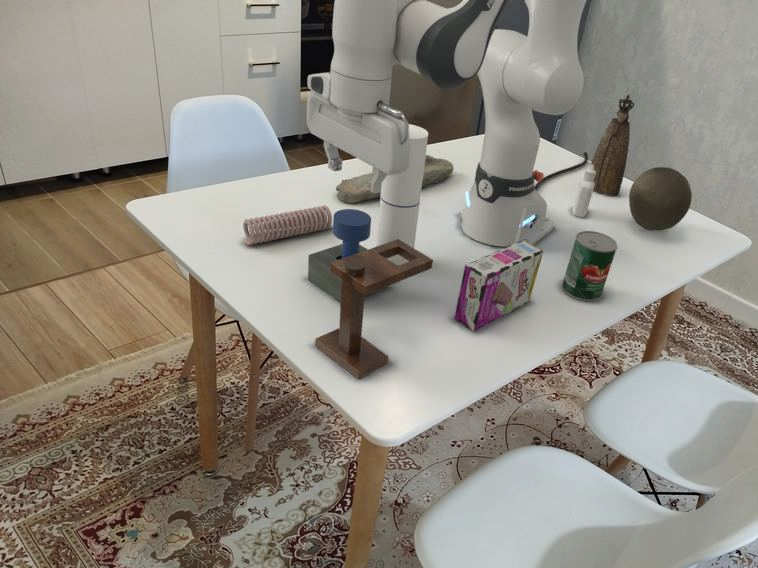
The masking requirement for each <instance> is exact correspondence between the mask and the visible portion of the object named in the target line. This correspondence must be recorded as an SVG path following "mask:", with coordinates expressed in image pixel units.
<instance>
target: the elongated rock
mask: <svg viewBox="0 0 758 568" xmlns="http://www.w3.org/2000/svg"><path fill="white" fill-rule="evenodd" d="M453 173H454V165H453V163H452V162H451V161H449V160H447V159H445V158H437V157H434V156H431V155H430V154H428V155H427V154H426V157H425V165H424V173H423V181H422V187H426V186H429V185H430V184H434V183H440V182H442V181H444V179H445V178H448V177H449V176H451V175H452V174H453ZM374 175H375V173H373V171H372V172H370V173H365V174H362V175H359V176H354V177H352V178H349V179H347V178H346V179H341V182H340V183H339V184H337V185H336V186H335V191H336V192H337V194H336V196H337V198H338V199H339V200H341V201H342V202H344V203H347V204H356V203H358V202H362V201H367V200H368V201H369V200H372V199H379V198H380V197H381V191H380V192H379V193H376V194H374V193H372V192H370V191H368V190H367V180H370V179H373V177H374Z"/></svg>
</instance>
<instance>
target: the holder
mask: <svg viewBox="0 0 758 568" xmlns="http://www.w3.org/2000/svg"><path fill="white" fill-rule="evenodd" d="M342 245H343V243H341V244H338V245H335V246H332V247H329V248H325V249H322V250H319V251H316V252H313V253H310V254H308V261H307V263H308V266H307V278H308V279H307V280H308V281H310V282H311V283H312V284H314V285H315V286H316V287H318V288H319V289H321V290H322V291H324V292H325V293H326V294H328V295H329V296H330V297H332V298H333V299H335V300H336V301H338V302H339V303H341V287H342V279H340V278H339V277H337V276H336V275H334V274H333V273H332V272H330V263H331V262H334V261H337V260H340V259H342ZM365 250H368V249H367V248H366V247H365V246H363V245H361V244H360V243H359V253H360V252H363V251H365ZM388 288H389V286H387V287H385V288H382V289H380V290H377V291H375V292H373V293H370V294H368V295H365V297H364V298H366V297H370V296H371V295H374V294H376V293H379V292H381V291H384V290H386V289H388Z"/></svg>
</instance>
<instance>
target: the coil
mask: <svg viewBox="0 0 758 568" xmlns="http://www.w3.org/2000/svg"><path fill="white" fill-rule="evenodd" d="M242 227H243V231H244V235H245V237H246V239H245V240H244V241H243V242H244V243H245V244H246V245H247V246H251V245H257V244H261V243H267V242H271V241H275V240H278V239H279V240H281V239H287V238H291V237H296V236H300V235H306V234H310V233H315V232H319V231H324V230H329V229H333V215H332V212H331V210H330V208H329V206H328V205H325V204H324V205H322V206H321V205H318V206H313V207H309V208H304V209H299V210H291V211H286V212H280V213H275V214H270V215H265V216H260V217H257V216H256V217H254V218H252V217H251V218H249V219H248V218H246V219H244V220H243V224H242Z"/></svg>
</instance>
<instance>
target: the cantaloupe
mask: <svg viewBox="0 0 758 568" xmlns="http://www.w3.org/2000/svg"><path fill="white" fill-rule="evenodd" d="M692 195H693V193H692V189H691V185H690V182H689V180H688V179H687V178H686V177H685V176H684V175H683V174H682V173H681V172H680V171H678V170H676V169H674V168H672V167H666V166H658V167H656V166H655V167H652V168H649V169H647V170H646V171H643V172H642V173H640V175H639V176H638V177H637V178H636V179H635V180H634V182H633V183H632V184H631V187H630V189H629V194H628V203H629V212H630V215H631V217H632V219H633V221H634V222H635V223H636V224H637V225H638V226H639V227H641V228H643V229H644V230H647V231H650V232H651V231H652V232H655V231H656V232H658V231H659V232H661V231H666V230H669V229H672V228H673V227H675V226H676V225H678V224H679V223H680V222H681V221H682V220H683V219H684V218H685V217H686V215H687V213H688V212H689V211H690V207H691V204H692V197H693V196H692Z"/></svg>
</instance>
